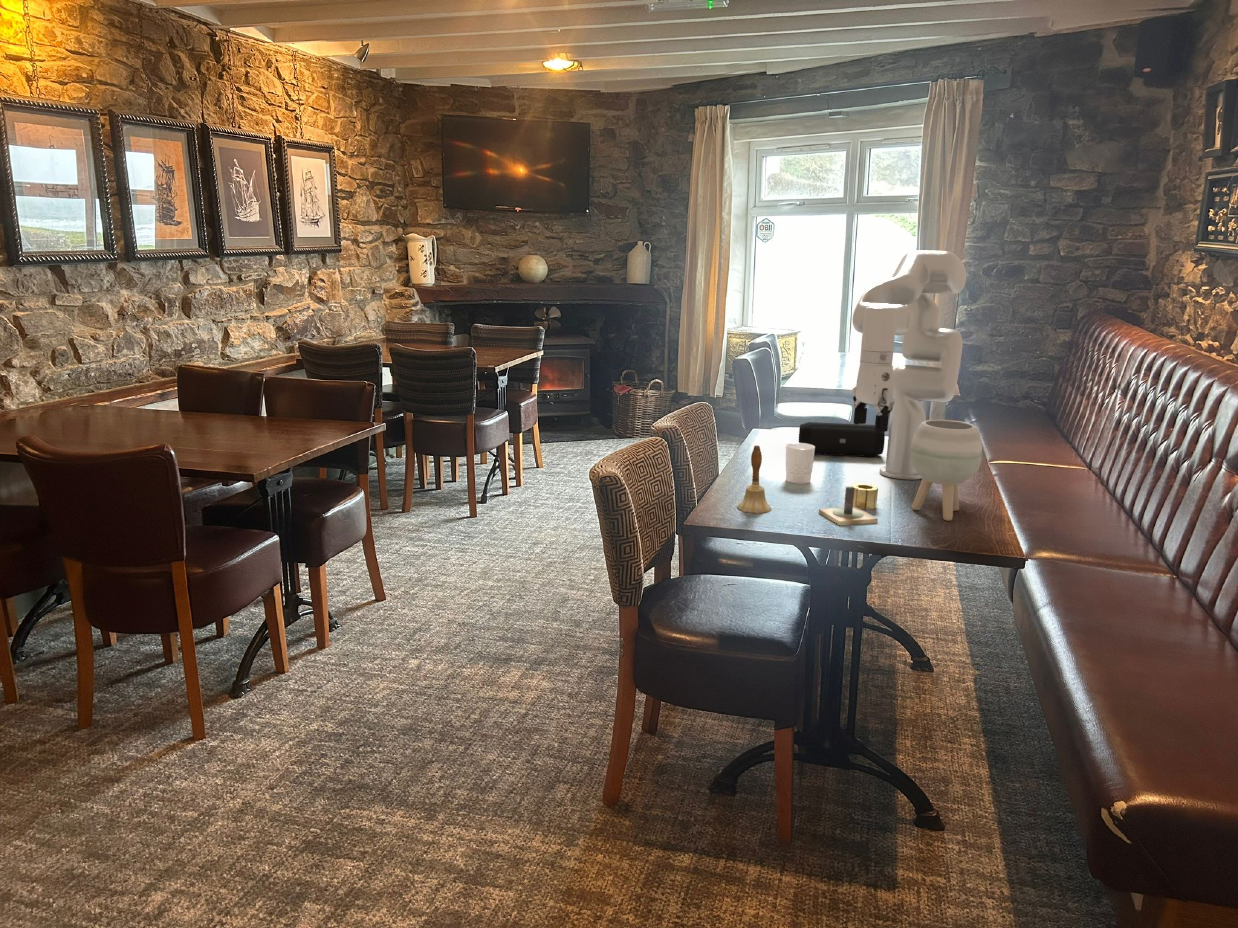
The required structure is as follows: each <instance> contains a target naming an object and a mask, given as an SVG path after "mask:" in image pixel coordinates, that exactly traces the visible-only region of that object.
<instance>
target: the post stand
mask: <svg viewBox="0 0 1238 928" xmlns="http://www.w3.org/2000/svg"><path fill="white" fill-rule="evenodd" d="M854 489H855V488H854V487H852V486H846V487H845V492H844V493H845V495H844V505H843V507H833V508H832V507H831V508H830V507H829V508H818V509H819V510H818V514H820V515H821V516H823V517H825V518H826V519H828V520H829V521H831V522H833V523H834V522H835V524H836V523H837V524H836V525H838V526H839V525H840V526H849V525H850V526H852V525H864V524H865V525H866V524H877V523H878V522H879V521H878V520H879V519H878V518H877V517H875V516H874V515H872V514H870V513H868V512H867V511H865V510H863V509H859V508H857V507H853V500H854Z"/></svg>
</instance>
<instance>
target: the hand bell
mask: <svg viewBox="0 0 1238 928" xmlns="http://www.w3.org/2000/svg"><path fill="white" fill-rule="evenodd" d="M762 456H763V455H762V451H761V447H760V445H754V446H753V449H752V453H751V455H750V462H751V468H752V478H751V481H752V483H751V484H750V485H748V486H746V488H745V493H744V497H743V498H742V500H741V502H739V503H738V505H737V506H736V507H737V509H738V510H739V511H741V512H745V513H749V514H765V513H769V512H771V511H772V507H771V505H770V504H769V503H768V501H767V499H766V493H765V488H764V486H762V485H761V484H760V469H761V467H762V466H761V465H762V461H763V460H762V459H763V457H762Z"/></svg>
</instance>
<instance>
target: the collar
mask: <svg viewBox="0 0 1238 928" xmlns="http://www.w3.org/2000/svg"><path fill="white" fill-rule="evenodd" d="M851 487H854V488H855V489H854V500H853V507H857V508H859V509H861V510H863V511H865V510H867V511H868V510H874V509H876V508H877V505H878V496H879V487H878V486H877V485H873V484H868V483H855V484H854V483H853V485H852V486H851Z"/></svg>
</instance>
